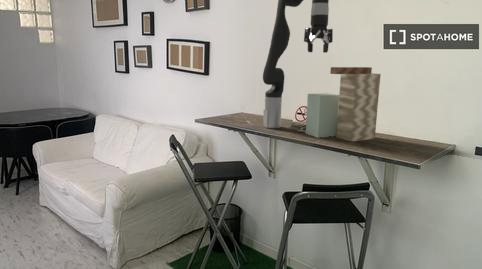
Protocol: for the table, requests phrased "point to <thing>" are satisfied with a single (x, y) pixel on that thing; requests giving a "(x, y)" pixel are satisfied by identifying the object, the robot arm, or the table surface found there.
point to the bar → (351, 70)
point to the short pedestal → (322, 114)
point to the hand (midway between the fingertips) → (317, 52)
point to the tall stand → (358, 106)
